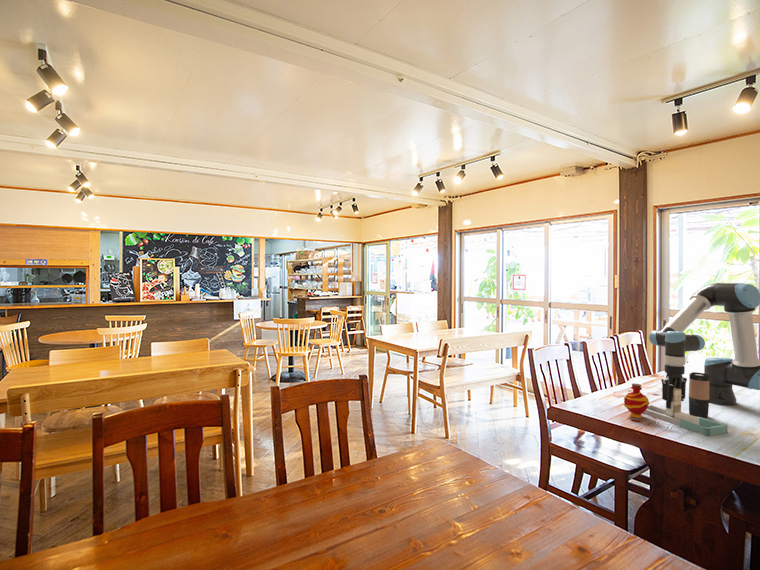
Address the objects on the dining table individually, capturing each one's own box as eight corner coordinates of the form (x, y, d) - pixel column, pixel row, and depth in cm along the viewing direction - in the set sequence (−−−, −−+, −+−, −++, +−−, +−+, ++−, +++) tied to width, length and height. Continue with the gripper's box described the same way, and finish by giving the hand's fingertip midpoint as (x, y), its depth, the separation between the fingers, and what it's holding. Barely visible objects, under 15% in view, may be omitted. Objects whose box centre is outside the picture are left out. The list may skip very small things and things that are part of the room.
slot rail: (650, 408, 202) (650, 404, 202) (695, 423, 182) (696, 418, 182) (635, 410, 199) (636, 406, 199) (680, 425, 179) (680, 421, 179)
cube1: (680, 420, 185) (680, 411, 185) (689, 423, 181) (689, 414, 181) (674, 421, 184) (674, 412, 184) (683, 424, 180) (683, 415, 180)
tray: (698, 423, 182) (698, 416, 182) (727, 432, 171) (727, 425, 171) (679, 426, 178) (679, 419, 178) (708, 436, 167) (708, 428, 167)
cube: (689, 423, 181) (689, 414, 181) (699, 426, 178) (699, 417, 178) (683, 424, 180) (683, 415, 180) (692, 427, 176) (692, 418, 176)
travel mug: (712, 418, 187) (713, 376, 187) (693, 417, 189) (694, 375, 189) (702, 413, 195) (703, 372, 195) (685, 412, 197) (685, 371, 196)
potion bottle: (641, 421, 184) (641, 388, 184) (618, 414, 193) (619, 383, 193) (654, 417, 189) (654, 385, 189) (631, 410, 198) (632, 380, 198)
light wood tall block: (680, 419, 185) (681, 389, 185) (674, 419, 184) (675, 389, 184) (672, 416, 189) (672, 386, 189) (665, 417, 188) (666, 387, 188)
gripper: (679, 362, 192) (678, 410, 193) (653, 364, 187) (652, 413, 187) (696, 365, 185) (694, 415, 185) (669, 367, 180) (667, 419, 180)
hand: (673, 414), depth 186 cm, fingers closed on light wood tall block, 4 cm apart
